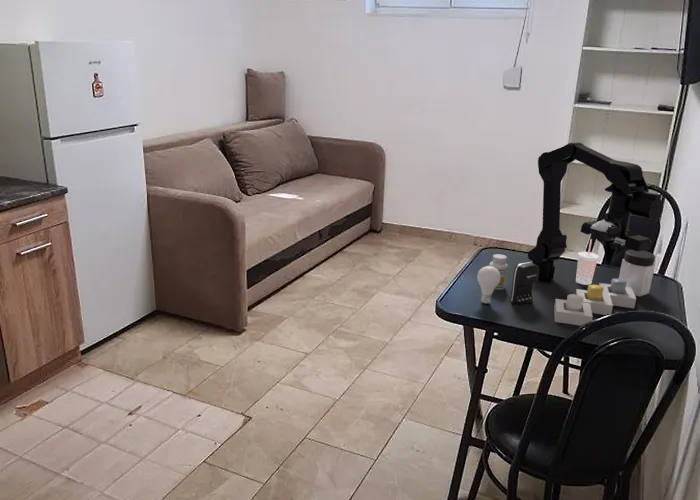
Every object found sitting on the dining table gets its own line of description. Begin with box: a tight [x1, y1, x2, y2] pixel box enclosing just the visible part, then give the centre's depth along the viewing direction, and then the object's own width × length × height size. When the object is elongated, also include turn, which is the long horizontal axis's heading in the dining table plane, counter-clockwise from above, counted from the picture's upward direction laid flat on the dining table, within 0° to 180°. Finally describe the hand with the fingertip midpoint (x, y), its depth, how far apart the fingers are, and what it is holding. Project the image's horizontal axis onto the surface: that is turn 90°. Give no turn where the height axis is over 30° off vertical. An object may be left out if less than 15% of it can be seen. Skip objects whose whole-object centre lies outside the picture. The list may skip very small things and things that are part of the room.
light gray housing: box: [598, 282, 637, 309], centre depth 180 cm, size 9×9×3 cm
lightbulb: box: [476, 265, 501, 305], centre depth 172 cm, size 6×6×11 cm
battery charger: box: [509, 261, 539, 305], centre depth 174 cm, size 7×4×11 cm, turn 120°
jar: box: [618, 249, 656, 297], centre depth 186 cm, size 9×8×12 cm
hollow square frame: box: [574, 288, 614, 316], centre depth 174 cm, size 9×9×3 cm
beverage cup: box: [575, 238, 600, 286], centre depth 191 cm, size 6×6×14 cm
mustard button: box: [586, 284, 604, 301], centre depth 174 cm, size 4×4×4 cm
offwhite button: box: [565, 293, 583, 312], centre depth 166 cm, size 4×4×4 cm
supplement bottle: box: [488, 253, 509, 291], centre depth 184 cm, size 5×5×10 cm
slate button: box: [609, 278, 627, 294], centre depth 179 cm, size 4×4×4 cm
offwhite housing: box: [553, 298, 593, 327], centre depth 167 cm, size 9×9×3 cm
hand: (609, 264), depth 172 cm, fingers closed
